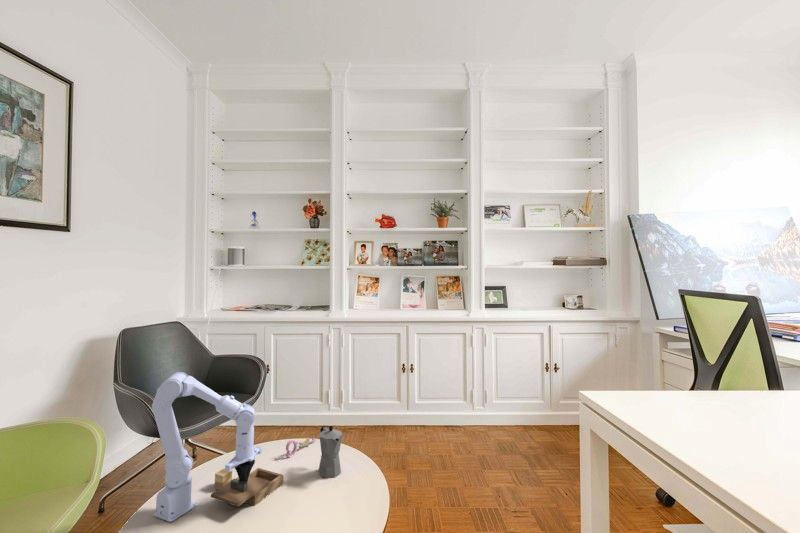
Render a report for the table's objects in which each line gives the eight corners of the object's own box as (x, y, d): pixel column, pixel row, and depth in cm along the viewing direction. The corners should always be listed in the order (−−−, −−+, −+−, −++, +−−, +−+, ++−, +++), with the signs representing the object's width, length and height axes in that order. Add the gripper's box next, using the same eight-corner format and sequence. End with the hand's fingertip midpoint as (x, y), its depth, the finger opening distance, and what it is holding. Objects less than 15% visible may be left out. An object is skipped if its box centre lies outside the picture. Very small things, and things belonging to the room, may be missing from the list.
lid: (238, 506, 118) (238, 495, 118) (210, 497, 122) (211, 486, 122) (269, 484, 130) (269, 474, 131) (243, 476, 135) (243, 466, 135)
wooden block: (222, 490, 133) (223, 476, 133) (214, 487, 134) (215, 473, 134) (231, 484, 136) (232, 470, 137) (223, 481, 138) (224, 468, 138)
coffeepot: (348, 476, 144) (349, 429, 144) (325, 483, 138) (327, 435, 139) (330, 459, 156) (332, 416, 157) (309, 466, 151) (310, 421, 151)
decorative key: (316, 447, 173) (286, 459, 155) (314, 447, 173) (284, 458, 156) (318, 432, 174) (288, 442, 156) (316, 432, 175) (286, 441, 157)
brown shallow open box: (254, 505, 124) (255, 495, 124) (228, 496, 129) (228, 486, 129) (283, 484, 137) (283, 474, 137) (258, 476, 142) (258, 467, 142)
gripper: (236, 454, 119) (235, 496, 119) (268, 436, 133) (267, 475, 132) (220, 450, 122) (219, 491, 122) (253, 433, 136) (252, 470, 135)
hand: (243, 482), depth 127 cm, fingers closed
